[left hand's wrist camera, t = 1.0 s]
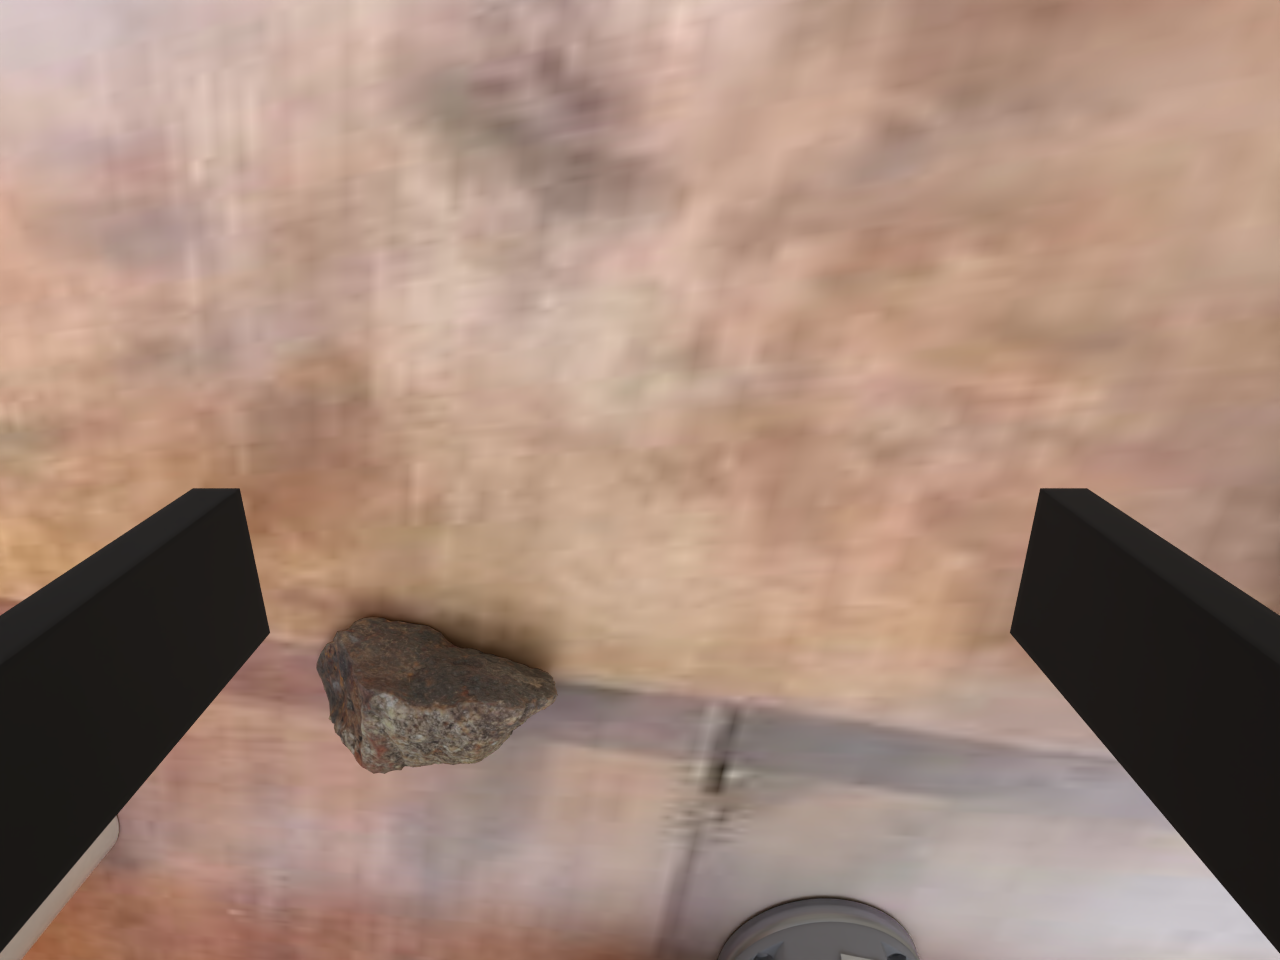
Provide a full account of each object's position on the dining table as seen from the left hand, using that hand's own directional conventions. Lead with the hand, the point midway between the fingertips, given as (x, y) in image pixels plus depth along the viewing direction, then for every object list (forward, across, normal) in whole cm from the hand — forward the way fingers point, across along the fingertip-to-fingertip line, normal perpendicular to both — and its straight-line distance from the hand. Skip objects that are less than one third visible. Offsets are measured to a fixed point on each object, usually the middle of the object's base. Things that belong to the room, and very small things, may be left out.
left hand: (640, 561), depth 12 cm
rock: (+28, +13, +22) cm, 38 cm away
